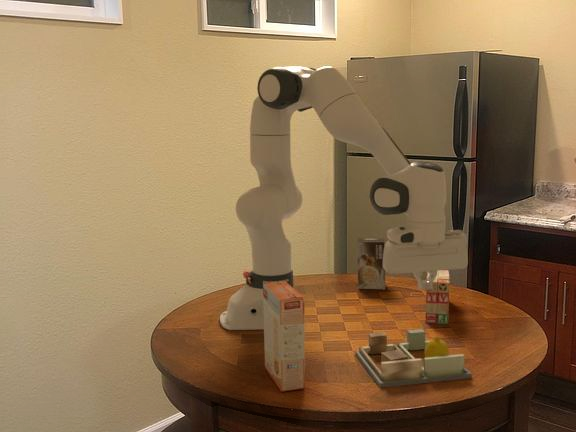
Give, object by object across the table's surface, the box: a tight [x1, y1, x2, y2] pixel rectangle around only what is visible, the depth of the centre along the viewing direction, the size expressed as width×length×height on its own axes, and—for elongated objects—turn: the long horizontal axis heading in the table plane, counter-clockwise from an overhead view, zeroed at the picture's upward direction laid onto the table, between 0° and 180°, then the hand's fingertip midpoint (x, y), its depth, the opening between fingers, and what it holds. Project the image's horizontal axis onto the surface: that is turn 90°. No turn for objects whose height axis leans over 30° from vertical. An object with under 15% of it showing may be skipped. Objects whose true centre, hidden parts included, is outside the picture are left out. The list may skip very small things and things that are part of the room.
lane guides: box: [354, 350, 473, 388], centre depth 148 cm, size 21×19×1 cm
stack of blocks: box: [425, 270, 451, 325], centre depth 185 cm, size 21×6×12 cm, turn 167°
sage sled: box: [397, 328, 465, 378], centre depth 150 cm, size 9×18×4 cm, turn 11°
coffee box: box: [356, 237, 386, 290], centre depth 210 cm, size 9×6×16 cm
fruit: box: [424, 336, 450, 358], centre depth 145 cm, size 6×6×8 cm
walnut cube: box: [380, 350, 408, 363], centre depth 145 cm, size 4×4×4 cm
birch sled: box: [358, 332, 423, 382], centre depth 148 cm, size 9×18×4 cm, turn 11°
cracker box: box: [263, 281, 306, 393], centre depth 141 cm, size 14×6×21 cm, turn 17°
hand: (424, 288), depth 150 cm, fingers closed
